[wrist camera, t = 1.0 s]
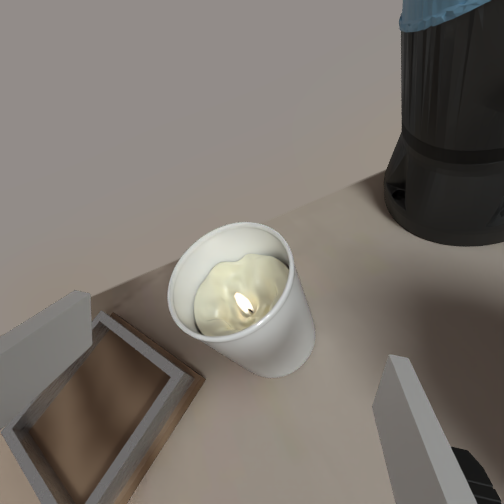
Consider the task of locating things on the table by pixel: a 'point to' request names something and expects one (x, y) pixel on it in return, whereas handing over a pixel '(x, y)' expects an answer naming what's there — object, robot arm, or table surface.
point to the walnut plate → (106, 414)
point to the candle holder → (244, 299)
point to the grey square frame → (102, 498)
